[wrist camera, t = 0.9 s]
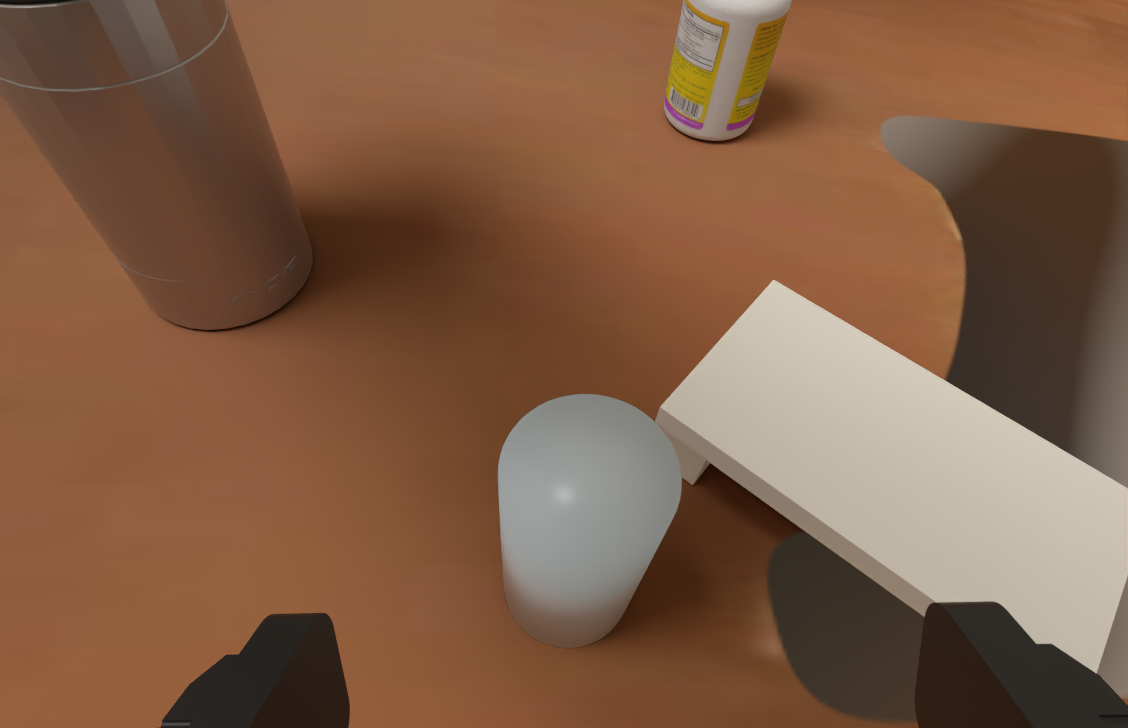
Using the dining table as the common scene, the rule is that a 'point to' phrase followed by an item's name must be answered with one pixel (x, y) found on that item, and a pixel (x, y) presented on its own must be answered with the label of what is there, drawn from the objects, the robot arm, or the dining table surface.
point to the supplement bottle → (721, 64)
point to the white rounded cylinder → (582, 514)
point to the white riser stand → (904, 473)
